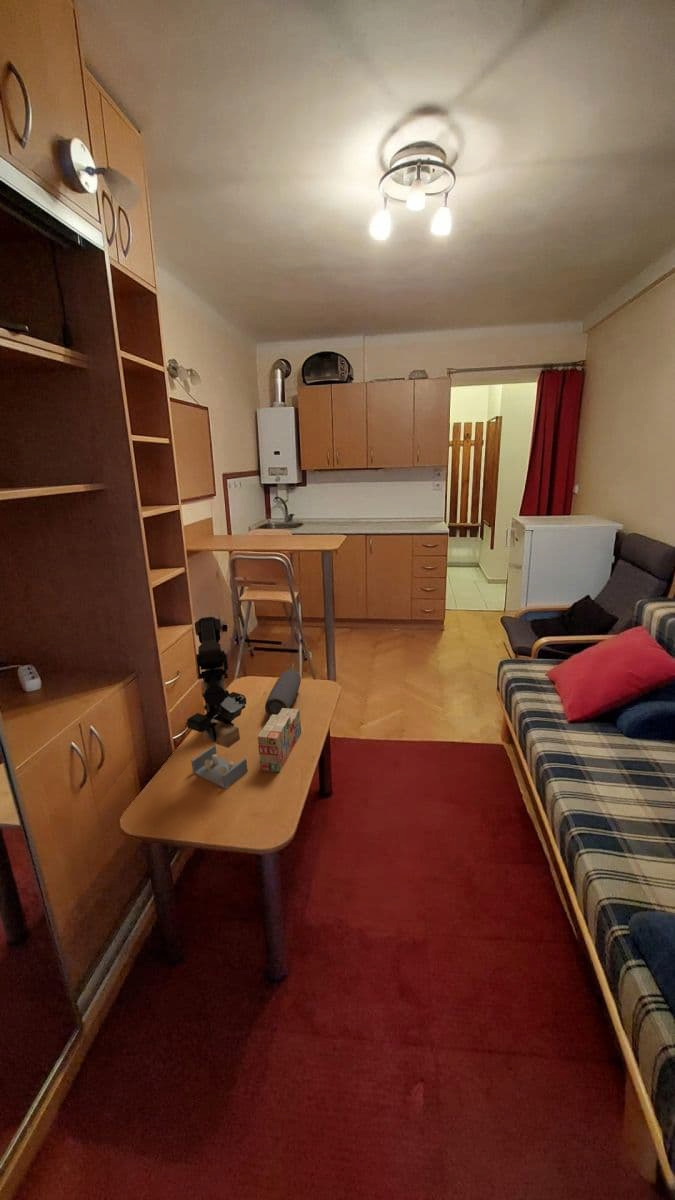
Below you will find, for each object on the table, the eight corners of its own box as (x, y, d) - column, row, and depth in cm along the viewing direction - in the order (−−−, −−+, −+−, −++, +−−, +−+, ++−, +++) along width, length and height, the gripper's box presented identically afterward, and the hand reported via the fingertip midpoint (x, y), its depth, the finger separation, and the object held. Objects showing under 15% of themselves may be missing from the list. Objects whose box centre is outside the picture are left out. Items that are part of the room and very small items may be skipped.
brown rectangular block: (203, 738, 140) (202, 727, 139) (216, 730, 144) (214, 719, 143) (227, 748, 135) (226, 736, 134) (239, 739, 139) (238, 727, 138)
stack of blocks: (284, 731, 161) (281, 699, 157) (301, 732, 159) (299, 701, 156) (260, 770, 141) (256, 735, 137) (280, 773, 139) (276, 737, 136)
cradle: (193, 772, 141) (191, 760, 140) (215, 756, 148) (213, 745, 147) (225, 788, 134) (224, 776, 132) (247, 771, 141) (246, 758, 139)
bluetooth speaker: (280, 690, 189) (278, 668, 186) (302, 691, 187) (301, 668, 184) (264, 721, 167) (262, 696, 164) (289, 722, 166) (287, 697, 163)
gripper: (210, 710, 123) (217, 761, 127) (257, 681, 138) (262, 727, 142) (182, 700, 129) (189, 749, 133) (230, 674, 144) (235, 718, 148)
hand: (221, 736), depth 139 cm, fingers closed on brown rectangular block, 5 cm apart
